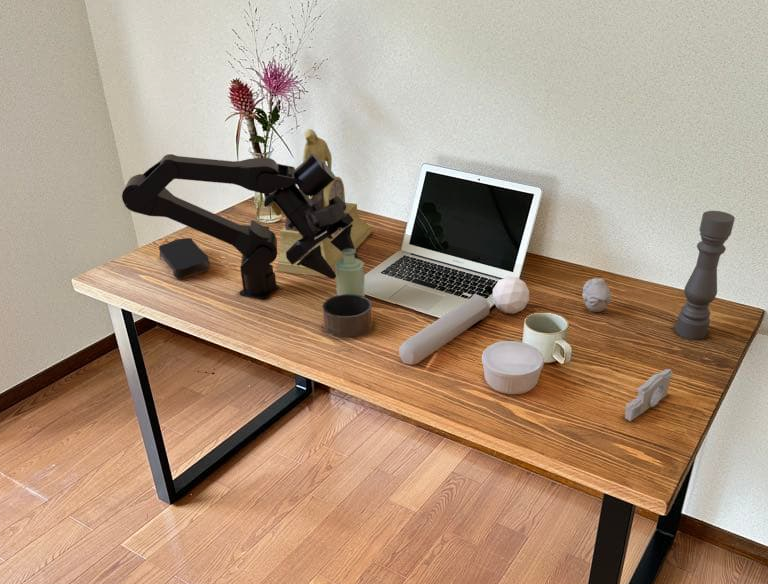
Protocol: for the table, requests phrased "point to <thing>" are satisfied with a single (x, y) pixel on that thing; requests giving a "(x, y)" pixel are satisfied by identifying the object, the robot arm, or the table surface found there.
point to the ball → (510, 295)
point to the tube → (444, 330)
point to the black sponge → (184, 258)
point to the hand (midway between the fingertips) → (346, 269)
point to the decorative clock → (322, 199)
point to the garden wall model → (649, 394)
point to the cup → (347, 315)
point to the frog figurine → (596, 294)
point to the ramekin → (512, 366)
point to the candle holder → (704, 275)
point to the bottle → (350, 274)
